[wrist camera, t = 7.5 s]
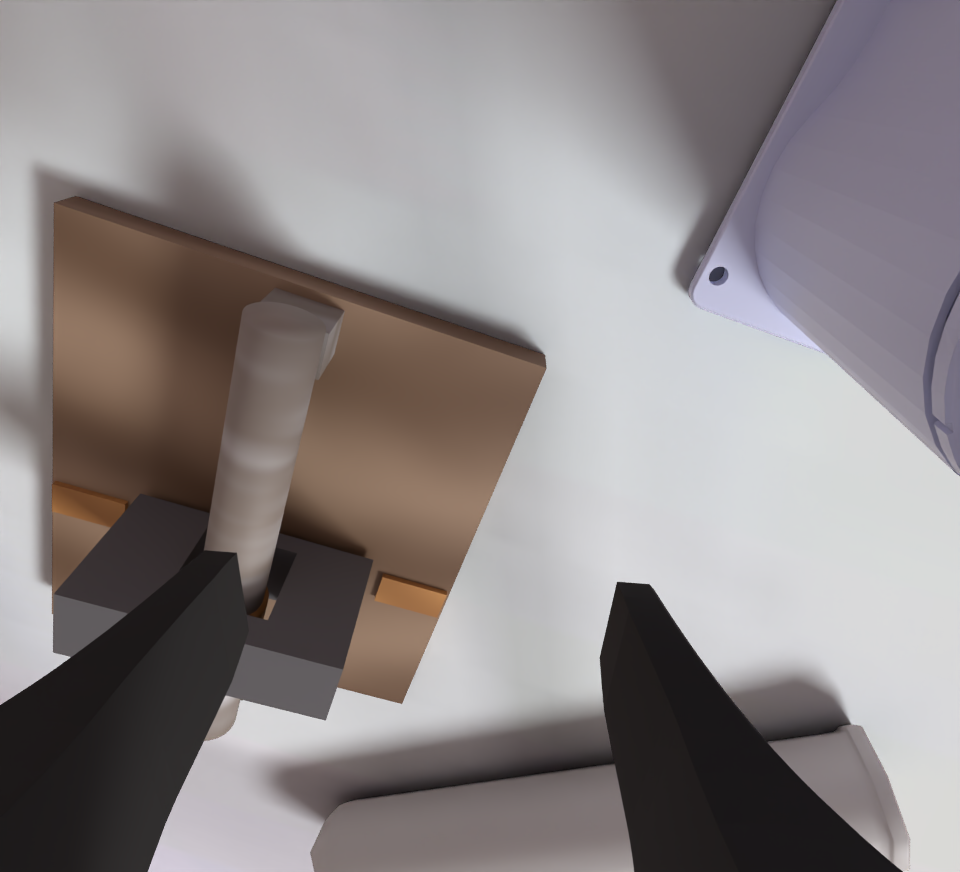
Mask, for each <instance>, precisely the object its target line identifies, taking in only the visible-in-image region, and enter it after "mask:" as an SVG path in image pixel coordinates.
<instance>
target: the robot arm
mask: <svg viewBox="0 0 960 872" xmlns="http://www.w3.org/2000/svg"><path fill="white" fill-rule="evenodd" d="M716 267H724V270H725V271H724V275H723V276H722V278H721V279H720V280H717V281H709V275H710V272H711V271H712V270H713V269H714V268H716ZM689 297H690V299H691V300H692V302H693V303H694V304H695V305H696V306H697V307H699V308H700V309H703V310H706V311H708V312H711V313H714V314H717V315H720V316H722V317H725V318H728V319H731V320H733V321H736V322H739V323H742V324H745V325H747V326H750V327H753V328H756V329H758V330H761V331H764V332H767V333H770V334H772V335H775V336H778V337H781V338H783V339H786V340H789V341H792V342H795V343H797V344H800V345H803V346H806V347H808V348H811V349H814V350H817V351H820V352H822V353H825V354H827V355H828V356H829V357H830V358H831V359H832V360H833V361H835V362H836V363H837V364H838V365H839V366H840V367H841V368H842V369H843V370H844V371H845V372H846V373H848V374H849V375H850V376H851V377H852V378H853V379H854V380H855V381H856V382H857V383H858V384H860V385H861V386H862V387H863V388H864V389H865V390H866V391H867V392H868V393H869V394H870V395H871V396H873V397H874V398H875V399H876V400H877V401H878V402H879V403H880V404H881V405H882V406H883V407H885V408H886V409H887V410H888V411H889V412H890V413H891V414H892V415H893V416H894V417H895V418H896V419H898V420H899V421H900V422H901V423H902V424H903V425H904V426H905V427H906V428H907V429H908V430H910V431H911V432H912V433H913V434H914V435H915V436H916V437H917V438H918V439H919V440H920V441H921V442H923V443H924V444H925V445H926V446H927V447H928V448H929V449H930V450H931V451H932V452H933V453H935V454H936V455H937V456H938V457H939V458H940V459H941V460H942V461H943V462H944V463H945V464H946V465H948V466H949V467H950V468H951V469H952V470H953V471H954V472H955V473H957V474H958V475H959V476H960V0H837V1H836V3H835V5H834V7H833V9H832V11H831V13H830V15H829V17H828V19H827V21H826V22H825V24H824V26H823V28H822V30H821V32H820V34H819V36H818V38H817V40H816V42H815V44H814V46H813V48H812V50H811V51H810V53H809V55H808V57H807V59H806V61H805V63H804V65H803V67H802V69H801V71H800V73H799V75H798V77H797V78H796V80H795V82H794V84H793V86H792V88H791V90H790V92H789V94H788V96H787V98H786V100H785V102H784V104H783V106H782V107H781V109H780V111H779V113H778V115H777V117H776V119H775V121H774V123H773V125H772V127H771V129H770V131H769V133H768V135H767V136H766V138H765V140H764V142H763V144H762V146H761V148H760V150H759V152H758V154H757V156H756V158H755V160H754V162H753V164H752V165H751V167H750V169H749V171H748V173H747V175H746V177H745V179H744V181H743V183H742V185H741V187H740V189H739V191H738V193H737V194H736V196H735V198H734V200H733V202H732V204H731V206H730V208H729V210H728V212H727V214H726V216H725V218H724V220H723V222H722V223H721V225H720V227H719V229H718V231H717V233H716V235H715V237H714V239H713V241H712V243H711V245H710V247H709V249H708V251H707V252H706V254H705V256H704V258H703V260H702V262H701V264H700V266H699V268H698V270H697V272H696V274H695V276H694V278H693V280H692V281H691V283H690V287H689ZM248 632H249V628H248V621H247V615H246V608H245V602H244V595H243V589H242V583H241V576H240V570H239V563H238V557H237V553H234V552H221V551H208V550H205V551H203V552H202V553H201V554H200V555H198V556H197V557H196V558H195V559H193V560H192V561H191V562H190V563H189V564H187V565H186V566H185V567H184V568H182V569H181V570H180V571H179V572H178V573H176V574H175V575H174V576H173V577H172V578H171V579H169V580H168V581H167V582H166V583H165V584H163V585H162V586H161V587H160V588H159V589H157V590H156V591H155V592H154V593H153V594H151V595H150V596H149V597H148V598H147V599H145V600H144V601H143V602H142V603H141V604H139V605H138V606H137V607H136V608H134V609H133V610H132V611H131V612H129V613H128V614H127V615H126V616H124V617H123V618H122V619H121V620H119V621H118V622H117V623H116V624H114V625H113V626H112V627H111V628H109V629H108V630H107V631H106V632H104V633H103V634H102V635H100V636H99V637H98V638H96V639H95V640H94V641H92V642H91V643H90V644H88V645H87V646H86V647H84V648H83V649H82V650H80V651H79V652H77V653H76V654H75V655H73V656H72V657H71V658H69V659H68V660H67V661H65V662H64V663H63V664H61V665H60V666H59V667H57V668H56V669H54V670H53V671H51V672H50V673H49V674H47V675H46V676H44V677H43V678H41V679H40V680H38V681H37V682H35V683H34V684H32V685H31V686H29V687H28V688H26V689H25V690H23V691H22V692H20V693H18V694H17V695H15V696H14V697H12V698H11V699H9V700H7V701H6V702H4V703H3V704H1V705H0V872H148V869H149V866H150V864H151V861H152V858H153V856H154V853H155V850H156V848H157V845H158V842H159V839H160V837H161V834H162V831H163V829H164V826H165V823H166V821H167V819H168V816H169V814H170V812H171V810H172V807H173V805H174V803H175V800H176V798H177V796H178V794H179V792H180V790H181V787H182V785H183V783H184V781H185V779H186V777H187V775H188V773H189V771H190V769H191V767H192V765H193V763H194V760H195V758H196V756H197V754H198V752H199V750H200V748H201V746H202V744H203V742H204V740H205V738H206V736H207V733H208V731H209V729H210V727H211V725H212V723H213V721H214V719H215V717H216V715H217V712H218V710H219V708H220V706H221V704H222V702H223V700H224V698H225V696H226V693H227V691H228V689H229V687H230V685H231V683H232V680H233V677H234V674H235V671H236V669H237V666H238V663H239V660H240V657H241V654H242V651H243V648H244V644H245V641H246V638H247V635H248ZM600 667H601V680H602V692H603V703H604V712H605V717H606V723H607V728H608V733H609V738H610V743H611V748H612V753H613V758H614V763H615V768H616V773H617V778H618V783H619V788H620V793H621V798H622V803H623V808H624V813H625V818H626V823H627V828H628V833H629V839H630V845H631V852H632V858H633V866H634V872H903V871H901V870H900V869H899V868H898V867H897V866H895V865H894V864H893V863H892V862H891V861H890V860H888V859H887V858H886V857H885V856H884V855H882V854H881V853H880V852H879V851H878V850H877V849H876V848H874V847H873V846H872V845H871V844H870V843H869V842H868V841H866V840H865V839H864V838H863V837H862V836H861V835H860V834H859V833H858V832H857V831H855V830H854V829H853V828H852V827H851V826H850V825H849V824H848V823H847V822H846V821H845V820H844V819H843V818H842V817H840V816H839V815H838V814H837V813H836V812H835V811H834V810H833V809H832V808H831V807H830V806H829V805H828V804H826V803H825V802H824V801H823V800H822V799H821V798H820V797H819V796H818V795H817V794H816V793H815V792H814V791H813V790H812V789H811V788H810V787H809V786H808V785H807V784H806V783H805V782H804V781H803V780H802V779H801V778H800V777H799V776H798V775H797V774H796V773H795V772H794V771H793V770H792V769H791V768H790V767H789V766H788V764H787V763H786V762H785V761H784V760H783V759H782V758H781V757H780V756H779V755H778V754H777V753H776V752H775V751H774V749H773V748H772V747H771V746H770V745H769V744H768V743H767V742H766V740H765V739H764V738H763V737H762V736H761V735H760V734H759V732H758V731H757V730H756V729H755V728H754V727H753V725H752V724H751V723H750V722H749V721H748V719H747V718H746V717H745V716H744V714H743V713H742V712H741V711H740V710H739V708H738V707H737V706H736V705H735V703H734V702H733V701H732V700H731V699H730V697H729V696H728V695H727V693H726V692H725V691H724V690H723V688H722V687H721V686H720V684H719V683H718V682H717V680H716V679H715V678H714V676H713V675H712V674H711V672H710V671H709V670H708V668H707V667H706V665H705V664H704V663H703V661H702V660H701V659H700V657H699V656H698V655H697V653H696V652H695V650H694V649H693V648H692V646H691V645H690V643H689V642H688V640H687V639H686V637H685V636H684V635H683V633H682V632H681V630H680V629H679V627H678V626H677V624H676V623H675V621H674V620H673V618H672V617H671V615H670V614H669V612H668V611H667V609H666V608H665V606H664V604H663V603H662V601H661V600H660V598H659V597H658V595H657V594H656V592H655V591H654V589H653V588H652V587H651V586H650V584H638V583H625V582H617V585H616V589H615V594H614V598H613V602H612V607H611V611H610V615H609V620H608V624H607V628H606V633H605V637H604V642H603V646H602V650H601V655H600Z"/></svg>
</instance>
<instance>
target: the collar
mask: <svg viewBox="0 0 960 872" xmlns="http://www.w3.org/2000/svg"><path fill="white" fill-rule="evenodd" d="M209 516H210V513H207V512H204V511H200V510H197V509H193V508H190V507H186V506H183V505H179V504H176V503H172V502H169V501H165V500H161V499H158V498H154V497H151V496H147V495H144V494H139V496H138V497H137V498H136V499H135V500H134V501H133V503H132V504H131V505H130V506H129V507H128V508H127V509H126V511H125V512H124V513H123V514H122V515H121V516H120V518H119V519H118V520H117V521H116V522H115V523H114V525H113V526H112V527H111V528H110V529H109V530H108V531H107V533H106V534H105V535H104V536H103V537H102V538H101V540H100V541H99V542H98V543H97V544H96V545H95V547H94V548H93V549H92V550H91V551H90V552H89V554H88V555H87V556H86V557H85V558H84V559H83V560H82V562H81V563H80V564H79V565H78V566H77V567H76V569H75V570H74V571H73V572H72V573H71V574H70V576H69V577H68V578H67V579H66V580H65V581H64V582H63V584H62V585H61V586H60V587H59V588H58V589H57V591H56V592H55V593H54V594H53V652H54V653H58V654H62V655H66V656H70V657H72V656H73V655H75V654H76V653H77V652H79V651H80V650H82V649H83V648H84V647H86V646H87V645H88V644H90V643H91V642H92V641H94V640H95V639H96V638H98V637H99V636H100V635H102V634H103V633H104V632H106V631H107V630H108V629H109V628H111V627H112V626H113V625H114V624H116V623H117V622H118V621H119V620H121V619H122V618H123V617H124V616H126V615H127V614H128V613H129V612H131V611H132V610H133V609H134V608H136V607H137V606H138V605H139V604H141V603H142V602H143V601H144V600H145V599H147V598H148V597H149V596H150V595H151V594H153V593H154V592H155V591H156V590H157V589H159V588H160V587H161V586H162V585H163V584H165V583H166V582H167V581H168V580H169V579H171V578H172V577H173V576H174V575H175V574H176V573H178V572H179V571H180V570H181V569H182V568H184V567H185V566H186V565H187V564H189V563H190V562H191V561H192V560H193V559H195V558H196V557H197V556H198V555H200V554H201V553H202V552H203V551H204V547H205V541H206V535H207V529H208V522H209ZM372 564H373V560H372V559H369V558H365V557H362V556H358V555H355V554H351V553H348V552H344V551H340V550H337V549H333V548H330V547H326V546H323V545H319V544H316V543H312V542H309V541H305V540H302V539H298V538H295V537H291V536H288V535H284V534H281V533H279V535H278V539H277V544H276V548H275V552H274V557H273V561H272V565H271V570H270V574H269V578H268V582H267V588H268V591H269V599H272V600H276V603H275V605H274V607H273V609H272V612H271V614H270V616H269V619H268V620H265V619H261V618H257V617H254V616H250V615H247V621H248V628H249V632H248V635H247V638H246V641H245V644H244V648H243V651H242V654H241V657H240V660H239V663H238V666H237V669H236V671H235V674H234V677H233V680H232V683H231V685H230V687H229V689H228V691H227V693H226V696H230V697H234V698H238V699H242V700H246V701H250V702H254V703H258V704H262V705H266V706H270V707H274V708H278V709H282V710H286V711H290V712H294V713H298V714H302V715H306V716H310V717H314V718H318V719H322V720H326V718H327V715H328V712H329V709H330V706H331V703H332V700H333V698H334V695H335V692H336V689H337V686H338V683H339V680H340V677H341V674H342V671H343V668H344V665H345V661H346V657H347V654H348V650H349V647H350V643H351V639H352V636H353V632H354V629H355V625H356V621H357V618H358V614H359V611H360V607H361V603H362V600H363V596H364V593H365V589H366V585H367V582H368V578H369V575H370V571H371V567H372Z"/></svg>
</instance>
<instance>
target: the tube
mask: <svg viewBox="0 0 960 872" xmlns="http://www.w3.org/2000/svg"><path fill="white" fill-rule="evenodd" d="M767 743H768V744H769V745H770V746H771V747H772V748H773V749H774V751H775V752H776V753H777V754H778V755H779V756H780V757H781V758H782V759H783V760H784V761H785V762H786V763H787V764H788V766H789V767H790V768H791V769H792V770H793V771H794V772H795V773H796V774H797V775H798V776H799V777H800V778H801V779H802V780H803V781H804V782H805V783H806V784H807V785H808V786H809V787H810V788H811V789H812V790H813V791H814V792H815V793H816V794H817V795H818V796H819V797H820V798H821V799H822V800H823V801H824V802H825V803H826V804H828V805H829V806H830V807H831V808H832V809H833V810H834V811H835V812H836V813H837V814H838V815H839V816H840V817H842V818H843V819H844V820H845V821H846V822H847V823H848V824H849V825H850V826H851V827H852V828H853V829H854V830H855V831H857V832H858V833H859V834H860V835H861V836H862V837H863V838H864V839H865V840H866V841H868V842H869V843H870V844H871V845H872V846H873V847H874V848H876V849H877V850H878V851H879V852H880V853H881V854H882V855H884V856H885V857H886V858H887V859H888V860H890V861H891V862H892V863H893V864H894V865H895V866H897V867H898V868H899V869H900V870H901V871H908V870H909V869H910V837H909V834H908V832H907V829H906V826H905V823H904V820H903V818H902V815H901V812H900V809H899V806H898V804H897V801H896V798H895V795H894V793H893V790H892V787H891V784H890V781H889V779H888V776H887V774H886V772H885V770H884V768H883V766H882V764H881V762H880V760H879V758H878V756H877V754H876V753H875V751H874V749H873V747H872V745H871V743H870V741H869V739H868V737H867V735H866V733H865V731H864V729H863V727H861V726H858V725H851V724H849V725H843V726H838V728H837V730H836V731H834V732H830V733H825V734H818V735H811V736H804V737H797V738H790V739H783V740H776V741H768V742H767ZM310 854H311V858H312V863H313V867H314V871H315V872H634V866H633V858H632V852H631V845H630V839H629V833H628V828H627V823H626V818H625V813H624V808H623V803H622V798H621V793H620V788H619V783H618V778H617V773H616V768H615V763H613V764H606V765H599V766H592V767H585V768H577V769H570V770H563V771H556V772H549V773H542V774H535V775H528V776H521V777H514V778H507V779H500V780H493V781H485V782H478V783H471V784H464V785H457V786H450V787H443V788H436V789H429V790H422V791H415V792H408V793H401V794H393V795H386V796H379V797H372V798H365V799H358V800H353V801H350V802H346V803H343V804H340V805H339V806H338V807H337V808H336V809H335V810H334V811H333V813H332V814H331V815H330V816H329V817H328V818H327V819H326V820H325V822H324V824H323V826H322V828H321V830H320V833H319V835H318V837H317V839H316V841H315V843H314V846H313V848H312V850H311V852H310Z"/></svg>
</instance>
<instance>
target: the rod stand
mask: <svg viewBox="0 0 960 872" xmlns="http://www.w3.org/2000/svg"><path fill="white" fill-rule="evenodd" d="M545 370H546V360H545V355H544V354H541V353H538V352H535V351H532V350H529V349H526V348H523V347H520V346H518V345H515V344H512V343H509V342H506V341H503V340H500V339H497V338H494V337H491V336H488V335H485V334H482V333H479V332H476V331H473V330H470V329H467V328H464V327H461V326H458V325H455V324H452V323H450V322H447V321H444V320H441V319H438V318H435V317H432V316H429V315H426V314H423V313H420V312H417V311H414V310H411V309H408V308H405V307H402V306H399V305H396V304H393V303H390V302H387V301H384V300H382V299H379V298H376V297H373V296H370V295H367V294H364V293H361V292H358V291H355V290H352V289H349V288H346V287H343V286H340V285H337V284H334V283H331V282H328V281H325V280H322V279H319V278H317V277H314V276H311V275H308V274H305V273H302V272H299V271H296V270H293V269H290V268H287V267H284V266H281V265H278V264H275V263H272V262H269V261H266V260H263V259H260V258H257V257H254V256H251V255H249V254H246V253H243V252H240V251H237V250H234V249H231V248H228V247H225V246H222V245H219V244H216V243H213V242H210V241H207V240H204V239H201V238H198V237H195V236H192V235H189V234H186V233H183V232H181V231H178V230H175V229H172V228H169V227H166V226H163V225H160V224H157V223H154V222H151V221H148V220H145V219H142V218H139V217H136V216H133V215H130V214H127V213H124V212H121V211H118V210H116V209H113V208H110V207H107V206H104V205H101V204H98V203H95V202H92V201H89V200H86V199H83V198H80V197H77V196H75V197H71V198H68V199H65V200H61V201H58V202H55V203H54V288H53V484H52V614H53V594H54V593H55V592H56V591H57V589H58V588H59V587H60V586H61V585H62V584H63V582H64V581H65V580H66V579H67V578H68V577H69V576H70V574H71V573H72V572H73V571H74V570H75V569H76V567H77V566H78V565H79V564H80V563H81V562H82V560H83V559H84V558H85V557H86V556H87V555H88V554H89V552H90V551H91V550H92V549H93V548H94V547H95V545H96V544H97V543H98V542H99V541H100V540H101V538H102V537H103V536H104V535H105V534H106V533H107V531H108V530H109V529H110V528H111V527H112V526H113V525H114V523H115V522H116V521H117V520H118V519H119V518H120V516H121V515H122V514H123V513H124V512H125V511H126V509H127V508H128V507H129V506H130V505H131V504H132V503H133V501H134V500H135V499H136V498H137V497H138V496H139V494H144V495H147V496H151V497H154V498H158V499H161V500H165V501H169V502H172V503H176V504H179V505H183V506H186V507H190V508H193V509H197V510H200V511H204V512H207V513H210V516H209V522H208V529H207V535H206V541H205V547H204V551H205V550H208V551H221V552H234V553H237V557H238V563H239V570H240V576H241V583H242V589H243V595H244V602H245V608H246V615H250V616H254V617H257V618H261V619H265V620H268V619H269V616H270V614H271V612H272V609H273V607H274V605H275V603H276V600H272V599H269V591H268V588H267V582H268V578H269V574H270V570H271V565H272V561H273V557H274V552H275V548H276V544H277V539H278V535H279V533H281V534H284V535H288V536H291V537H295V538H298V539H302V540H305V541H309V542H312V543H316V544H319V545H323V546H326V547H330V548H333V549H337V550H340V551H344V552H348V553H351V554H355V555H358V556H362V557H365V558H369V559H372V560H373V564H372V567H371V571H370V575H369V578H368V582H367V585H366V589H365V593H364V596H363V600H362V603H361V607H360V611H359V614H358V618H357V621H356V625H355V629H354V632H353V636H352V639H351V643H350V647H349V650H348V654H347V657H346V661H345V665H344V668H343V671H342V674H341V677H340V680H339V683H338V686H337V687H338V688H342V689H346V690H350V691H354V692H358V693H362V694H366V695H370V696H373V697H377V698H381V699H385V700H389V701H393V702H397V703H401V704H402V702H403V700H404V698H405V695H406V693H407V691H408V688H409V686H410V684H411V681H412V679H413V677H414V674H415V672H416V670H417V668H418V665H419V663H420V661H421V658H422V656H423V654H424V651H425V649H426V647H427V644H428V642H429V640H430V637H431V635H432V633H433V630H434V628H435V626H436V623H437V621H438V619H439V616H440V614H441V612H442V609H443V607H444V605H445V603H446V600H447V598H448V596H449V593H450V591H451V589H452V586H453V584H454V582H455V579H456V577H457V575H458V572H459V570H460V568H461V565H462V563H463V561H464V558H465V556H466V554H467V551H468V549H469V547H470V544H471V542H472V540H473V538H474V535H475V533H476V531H477V528H478V526H479V524H480V521H481V519H482V517H483V514H484V512H485V510H486V507H487V505H488V503H489V500H490V498H491V496H492V493H493V491H494V489H495V486H496V484H497V482H498V479H499V477H500V475H501V473H502V470H503V468H504V466H505V463H506V461H507V459H508V456H509V454H510V452H511V449H512V447H513V445H514V442H515V440H516V438H517V435H518V433H519V431H520V428H521V426H522V424H523V421H524V419H525V417H526V414H527V412H528V410H529V408H530V405H531V403H532V401H533V398H534V396H535V394H536V391H537V389H538V387H539V384H540V382H541V380H542V377H543V375H544V373H545ZM240 700H242V699H238V698H234V697H230V696H225V698H224V700H223V702H222V704H221V706H220V708H219V710H218V712H217V715H216V717H215V719H214V721H213V723H212V725H211V727H210V729H209V731H208V733H207V736H206V738H205V740H204V741H208V740H213V739H216V738H219V737H221V736H222V735H224V734H225V733H227V732H228V731H229V730H230V729H231V727H232V726H233V724H234V722H235V719H236V716H237V711H238V707H239V703H240Z"/></svg>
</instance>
